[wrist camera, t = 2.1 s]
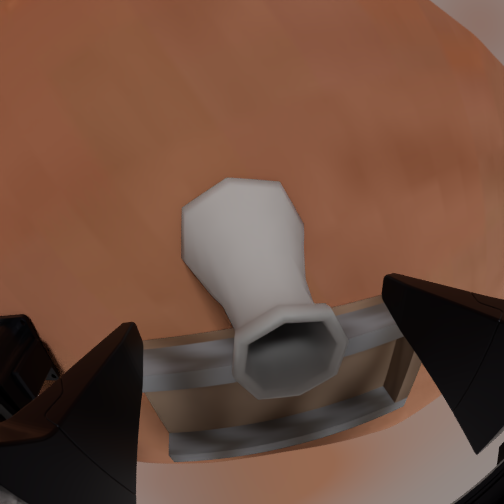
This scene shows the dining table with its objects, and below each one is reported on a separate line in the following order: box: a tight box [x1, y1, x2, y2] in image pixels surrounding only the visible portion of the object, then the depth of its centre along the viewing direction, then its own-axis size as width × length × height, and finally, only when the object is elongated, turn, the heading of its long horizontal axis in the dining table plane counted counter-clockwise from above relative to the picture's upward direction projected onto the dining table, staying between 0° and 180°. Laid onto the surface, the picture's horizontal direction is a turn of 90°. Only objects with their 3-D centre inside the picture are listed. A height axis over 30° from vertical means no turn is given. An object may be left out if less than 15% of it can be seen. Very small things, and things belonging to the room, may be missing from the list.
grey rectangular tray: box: [142, 295, 422, 462], centre depth 19 cm, size 22×12×4 cm, turn 96°
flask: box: [181, 178, 349, 400], centre depth 11 cm, size 7×7×10 cm
